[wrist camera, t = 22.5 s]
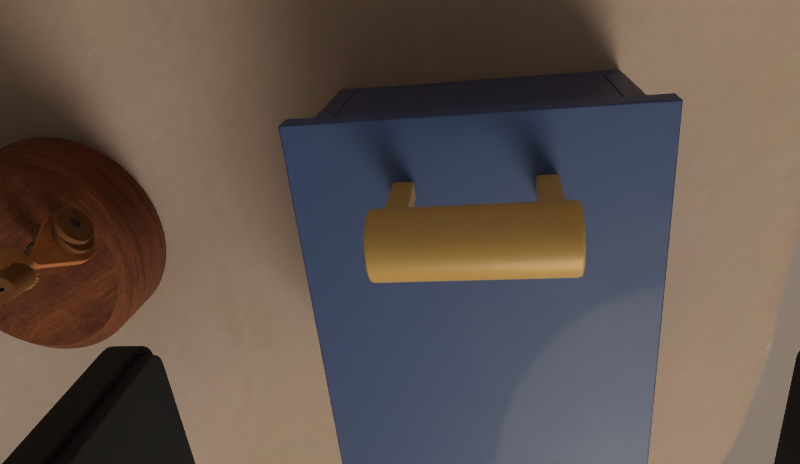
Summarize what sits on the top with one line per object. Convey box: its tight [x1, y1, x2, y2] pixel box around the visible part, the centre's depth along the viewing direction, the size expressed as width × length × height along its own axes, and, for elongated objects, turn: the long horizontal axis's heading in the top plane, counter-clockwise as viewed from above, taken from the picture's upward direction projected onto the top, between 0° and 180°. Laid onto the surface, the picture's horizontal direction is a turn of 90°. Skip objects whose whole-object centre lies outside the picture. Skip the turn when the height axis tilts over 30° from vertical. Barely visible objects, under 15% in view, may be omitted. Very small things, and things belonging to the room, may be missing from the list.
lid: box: [279, 93, 683, 464], centre depth 21 cm, size 16×12×6 cm
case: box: [315, 70, 646, 118], centre depth 27 cm, size 16×12×8 cm
